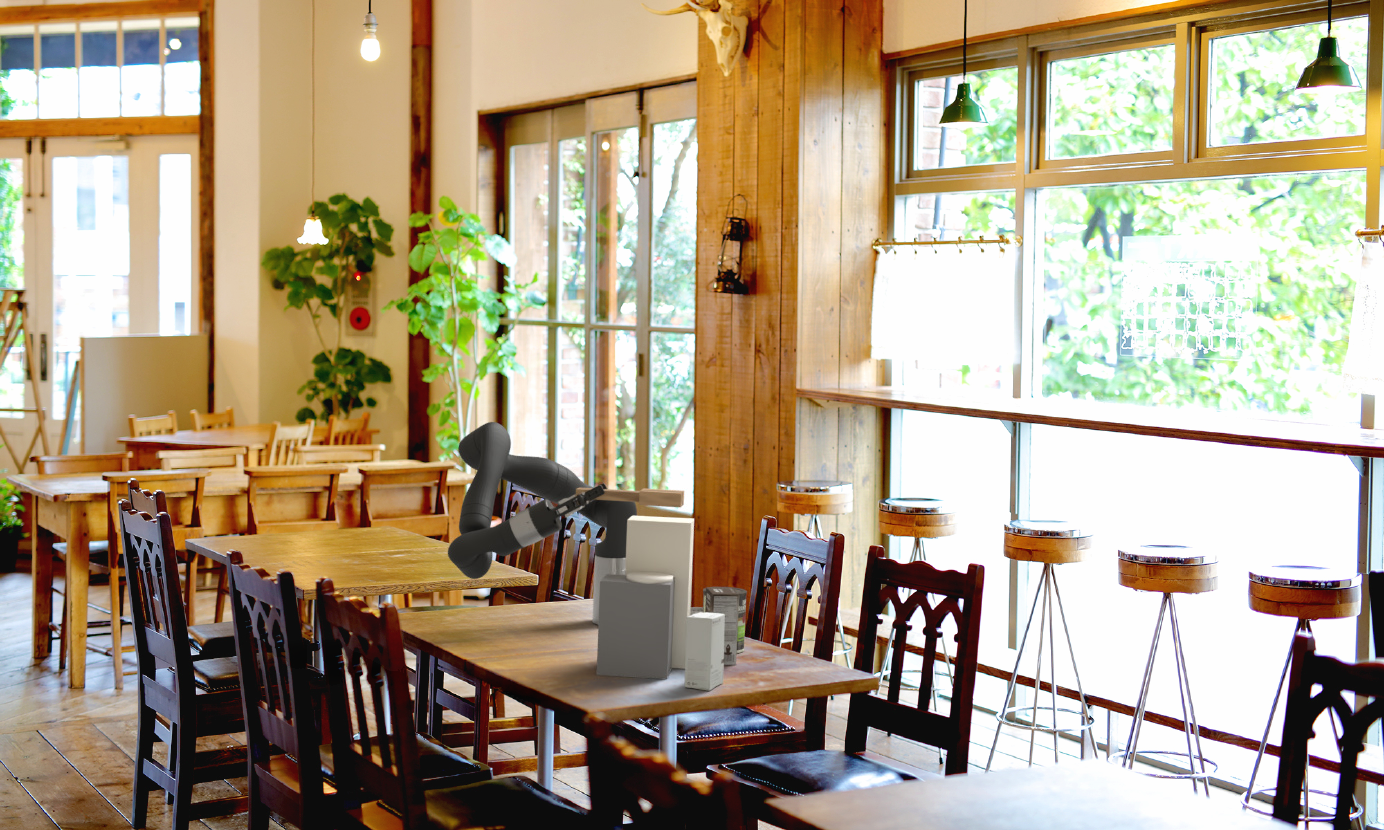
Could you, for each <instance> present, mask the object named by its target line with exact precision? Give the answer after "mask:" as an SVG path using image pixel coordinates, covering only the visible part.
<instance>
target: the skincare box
mask: <svg viewBox="0 0 1384 830" xmlns="http://www.w3.org/2000/svg"><path fill="white" fill-rule="evenodd" d="M724 626H725V614H720V613H707V612H700V613H696V614H693V615H691V616H688V617H687V621H686V656H685V669H684V687H685V688H688V689H689V688H691V689H696V690H701V691H707V692H709V691H711V690H713V689H714V688H716V687H717V686H719V685H722V684H724V667H725V665H724Z"/></svg>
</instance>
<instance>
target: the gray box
mask: <svg viewBox="0 0 1384 830" xmlns="http://www.w3.org/2000/svg"><path fill="white" fill-rule="evenodd" d="M674 589H675V577H673V575H671V574H667V573H661V572H631V573H628V574H627V575H617V574H606V575H605V576H604V578H603V579H602V580H601V581H600V597H599V623H598V624H597V626H598V627H597V629H598V630H597V654H596V655H597V659H596V676H608V677H610V676H611V677H622V678H623V677H627V678H642V679H660V680H661V679H662V680H667V679H668V677H669V676H670V673H671V670H672V668H671V665H672V640H673V615H674Z"/></svg>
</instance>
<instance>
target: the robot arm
mask: <svg viewBox="0 0 1384 830" xmlns="http://www.w3.org/2000/svg"><path fill="white" fill-rule="evenodd" d="M511 446H512V441H511V436H510V434H509V432H508V430H507V429H506V428H505V427H504V426H503V425H502V424H500V423H498V422H496V421H488V422H485V423H484V424H482V425H479V427H477V428H476V429H474V430H472V431H471V432H469V433H468V434H467V435H465V436H464V437H463V438H462V439H461V440H460V442H459V444H458V454H459V457H460V458H461V459H462V461H463V462H464V463H465V464H466V465H467V466H468V467H471V469H473V470H476V473H475V475H474V477H473V479H472V481H471V483H470V485H469V487H468V489H467V491H466V493H465V496H464V498H463V501H462V503H461V504H462V505H461V509H460V515H459V522H458V530H459V533H460V535H459V536H457V537H456V538H454V540H452V542H450V544H449V546H448V548H447V557H448V559H449V561H451V563H453V565H455V567H456V568H458V570H459V571H461V573H462V574H463V575H464V576H465V577H466V578H469V579H472V580H478V579H480V578H483V577H484V576H485V575H486V574H487V573H488V572H489V570H490V568H491V566H492V562H493V553H494V554H497V555H498V556H501V557H506V556H509V555H511V554H513V553H516V552H517V551H519V550H521V549H524V548H526V547H527V546H530V545H531V546H532V545H533V544H536V543H537V542H538V543H539V541H541V540H543V539H545V538H546V539H547V538H548V537H550V536H551V535H554V534H555V533H557V532H559V531H561V530H562V527H563V526H562V525H563V524H562V520H561V518H562V517H563V518H565V519H567V518H569V517H571V516H573V515H575V513H576V512H577V513H578V514H580V515H581V516H583V517H585V518H586V519H588V520H590V521H591V523H594V524H596V525H598V526H599V527H602V528H603V529H604V528H605V537H604V539H603V540H602V541H600V542H598V543H596V545H595V548H594V568H593V570H594V571H593V575H594V576H593V597H592V601H593V602H592V620H591V621H592V623H593V624H595V625H598V623H599V597H600V581H601V580H602V579H603V578H604V576H605V575H606V574H617V575H625V568H626V542H627V520H628V519H629V518H630V517H631V516H638V511H637V510H638V508H637V505H636V502H630V501H613V500H596V498H597V497H599V496H601V495H603V494H604V493H605V491H604V489H608V487H607V485H606V483H601V484H598V485H597V486H595V487H594V486H592V485H589V484H587V483H586V482H584V481H583V480H581V479H580V478H579V477H578V476H577V475H576V474H575V473H574V471H572V470H571V469H569V468H568V467H566V466H564V465H562V464H560V463H558V462H556V461H554V460H552V459H549V458H546V457H541V456H532V455H531V456H529V455H528V456H527V455H526V456H525V455H514V454H510V451H511ZM501 480H504V481H506V482H508V483H511V484H513V485H515V486H518V487H519V488H522V489H524V490H527V491H529V492H531V493H533V495H537V496H538V497H541V498H542V500H540V501H539V502H536V503H534V504H533V505H531V506H529V507H526V508H525V509H523V510H521V511H519V512H517V513H516V514H514V515H513V516H512V517H510V518H508V519H506V520H505V521H502V522H501V523H499V524H496V525H495V526H491V525H492V518H493V513H494V506H495V499H496V495H497V492H498V488H499V485H500V482H501ZM577 488H593V489H591V490H589V491H587V492H586V493H585V492H584V493H583V492H582V493H581V494H580V495H579V494H578V495H577V496H576V489H577ZM553 503H554V504H557V506H554V504H553Z"/></svg>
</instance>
